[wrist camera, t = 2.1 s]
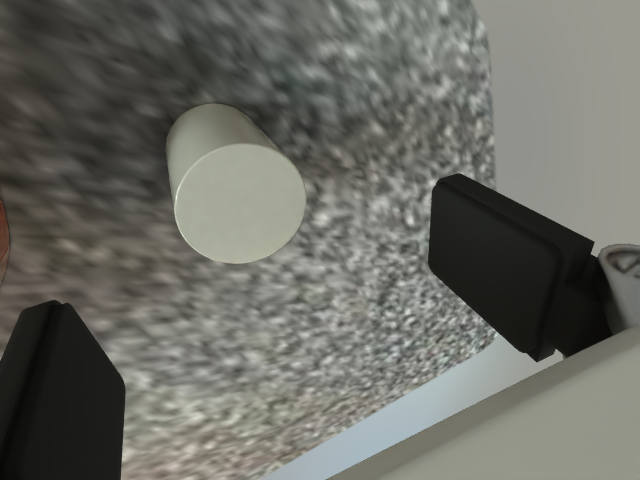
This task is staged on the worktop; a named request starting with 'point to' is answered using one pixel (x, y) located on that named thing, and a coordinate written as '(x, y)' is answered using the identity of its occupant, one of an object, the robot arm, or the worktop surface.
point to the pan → (3, 242)
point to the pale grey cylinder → (231, 185)
